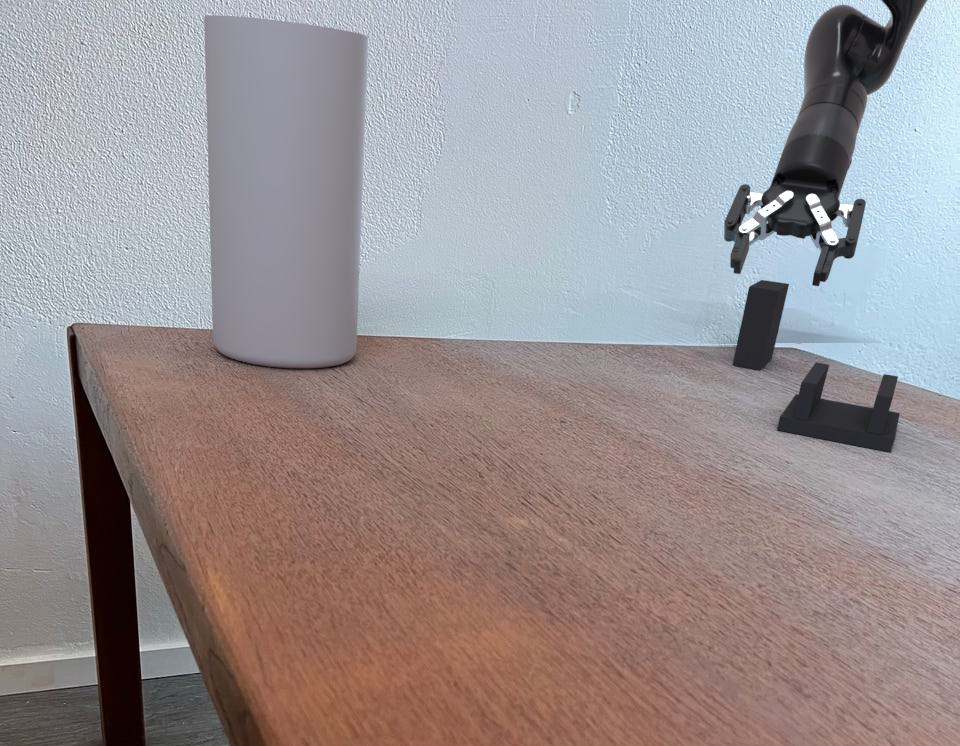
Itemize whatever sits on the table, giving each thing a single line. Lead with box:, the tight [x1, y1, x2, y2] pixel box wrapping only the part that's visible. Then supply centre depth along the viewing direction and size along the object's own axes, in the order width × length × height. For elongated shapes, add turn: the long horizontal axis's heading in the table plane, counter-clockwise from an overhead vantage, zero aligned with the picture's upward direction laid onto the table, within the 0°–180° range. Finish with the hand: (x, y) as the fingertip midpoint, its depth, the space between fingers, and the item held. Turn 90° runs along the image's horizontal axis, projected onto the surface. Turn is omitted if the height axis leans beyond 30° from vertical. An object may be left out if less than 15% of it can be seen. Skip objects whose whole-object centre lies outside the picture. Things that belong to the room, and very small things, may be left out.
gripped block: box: [732, 279, 790, 371], centre depth 105 cm, size 8×3×8 cm, turn 157°
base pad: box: [776, 362, 901, 453], centre depth 83 cm, size 10×9×4 cm
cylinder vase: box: [203, 14, 369, 369], centre depth 82 cm, size 12×12×25 cm
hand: (776, 274), depth 106 cm, fingers open, 8 cm apart
